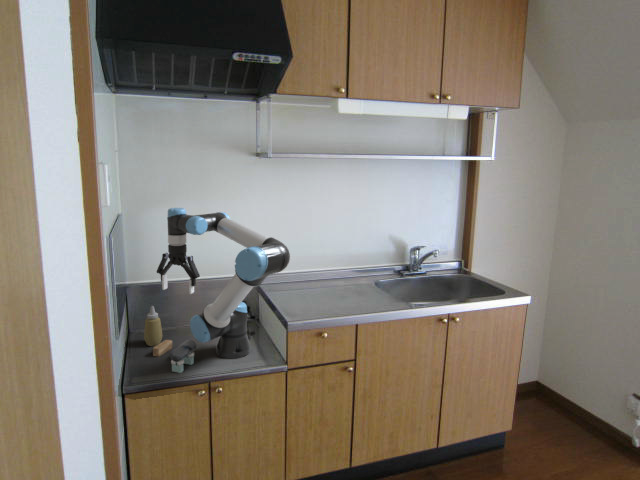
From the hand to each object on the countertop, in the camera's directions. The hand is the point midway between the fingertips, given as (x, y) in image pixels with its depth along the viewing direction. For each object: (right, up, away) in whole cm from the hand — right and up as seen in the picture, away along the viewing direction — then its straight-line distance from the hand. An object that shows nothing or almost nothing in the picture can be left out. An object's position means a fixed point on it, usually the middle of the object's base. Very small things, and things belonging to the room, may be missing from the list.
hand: (178, 291), depth 196 cm
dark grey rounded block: (+7, -25, -13) cm, 29 cm away
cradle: (+6, -30, -12) cm, 33 cm away
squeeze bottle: (-14, -25, +8) cm, 30 cm away
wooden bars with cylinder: (-3, -27, -1) cm, 27 cm away
